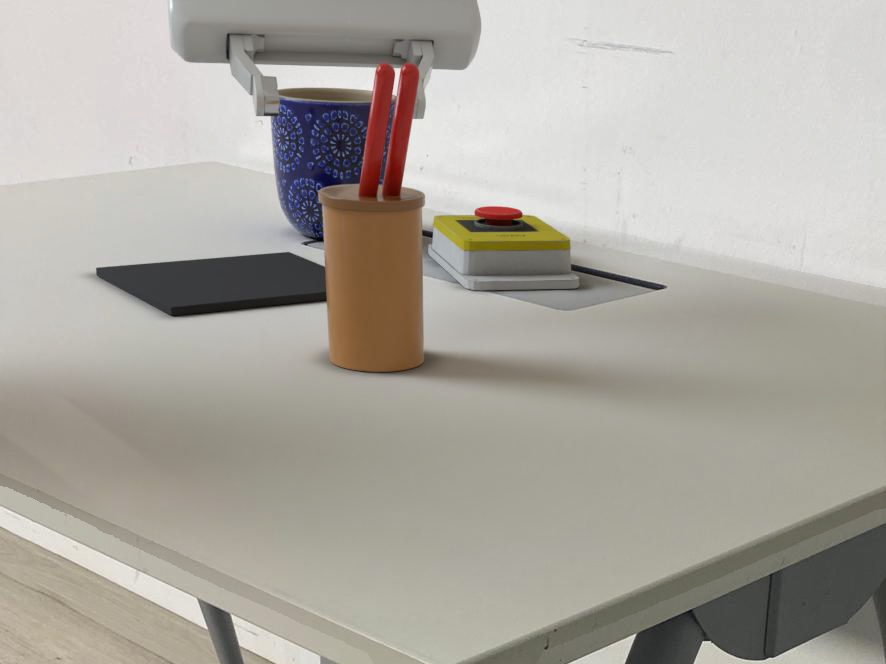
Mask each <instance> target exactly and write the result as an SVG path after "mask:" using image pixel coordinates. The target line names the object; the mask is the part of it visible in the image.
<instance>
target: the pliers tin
mask: <svg viewBox="0 0 886 664" xmlns="http://www.w3.org/2000/svg"><path fill="white" fill-rule="evenodd" d="M419 76H420V72H419V69H418V67H417V66H416V65H415V64H413V63H406V64H404V65H403V66H402V68H400V70H399V78H398V84H397V90H396V95H395V96H396V103H395V109H394V116H393V122H392V129H391V136H390V142H389V149H388V155H387V162H386V168H385V175H384V182H383V185H380V184H379V180H380V173H381V166H382V160H383V153H384V146H385V140H386V133H387V126H388V120H389V113H390V106H391V100H392V95H393V93H394V85H395V79H396V71H395V68H393V67H392V66H391V65H390V64H388V63H381V64H379V65H378V66H377V68H375V73H374V78H373V79H374V80H373V86H372V87H373V88H372V91H373V93H372V100H371V107H370V114H369V121H368V129H367V136H366V143H365V150H364V157H363V164H362V171H361V179H360V184H345V185H334V186H328V187H324V188H322V189H320V190H319V191H318V198H319V202H320V203H321V204H322V212H323V233H324V239H323V252H324V266H325V276H326V297H327V300H326V315H327V337H328V357H329V358H328V359H329V361H330V362H331V363H332V364H333V365H334V366H338V367H340V368H343V369H347V370H352V371H359V372H367V373H368V372H369V373H387V372H388V373H389V372H401V371H406V370H410V369H414V368H417V367H419V366H421V365H422V364H423V363H424V361H425V346H424V345H425V340H424V339H425V338H424V337H425V336H424V335H425V334H424V266H423V265H424V264H423V263H424V262H423V261H424V260H423V257H424V256H423V253H424V252H423V208H424V207H425V205H426V194H425V192H423V191H421V190H419V189H415V188H411V187H406V186H403V181H404V176H405V175H404V174H405V169H406V163H407V162H406V161H407V156H408V150H409V144H410V139H411V137H410V136H411V132H412V131H411V130H412V127H413V126H412V125H413V120H414V119H413V113H414V107H415V101H416V95H417V89H418V82H419Z"/></svg>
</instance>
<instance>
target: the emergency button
mask: <svg viewBox="0 0 886 664" xmlns="http://www.w3.org/2000/svg"><path fill="white" fill-rule="evenodd" d="M432 226H433V229H432V243H430V244H428V245H427V246H428V247H427V248H428V249H427V252H428V253H427V254H428V255H429V256H430V258H431V259H433V260H434V262H436V263H437V264H438V265H439V266H441V267H442V268H443V270H445V271H446V272H447V273H448V274H449V275H450V276H451V277H453V279H455V280H456V281H457V282H458V283H459V284H460V285H461V286H462V287H463V288H465V289H466V290H471V291H516V290H517V291H518V290H520V291H521V290H522V291H523V290H525V291H527V290H566V289H567V290H569V289H570V290H571V289H577V288H580V276H578V274H575V273H574V272H573V271H572V261H571V260H572V258H571V248H572V247H571V238H570V237H569V236H567V235H566V234H564V233H562V232H561V231H559V230H557V229H556V228H554V227H553V226H552V225H550V224H549V223H547V222H545V221H544V220H542V219H541V218H539V217H537V216H535V215H532V214H531V215H530V214H524V213H523V212H522V210H520V209H518V208H515V207H508V206H497V205H496V206H494V205H492V206H490V205H489V206H482V207H477V208H476V209H475V210H474V214H469V215H468V214H440V215H434V217H433V223H432Z"/></svg>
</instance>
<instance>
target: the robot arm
mask: <svg viewBox="0 0 886 664" xmlns="http://www.w3.org/2000/svg"><path fill="white" fill-rule="evenodd" d="M480 11H481V10H480V7H479V3H478V0H167V13H168V30H169V31H168V32H169V33H168V34H169V43H170V48H171V49H172V50H173V51H174V52H175V53H176V55H178V56H179V57H180V58H181V59H182V60H183V61H184V62H186V63H191V64H194V63H195V64H227V65H228V64H229V68H230V74H231V76H232V77H233V78H234V79H235V80H236V81H237V82H238V83H239V84H240V86H241V87H242V88H243V89H244V90H245V91H246V92H247V94H248V95H249V96H251V97H252V104H253V109H254V115H255V117H271V116H279V108H280V98H279V92H278V91H277V90H278V87H279V86H278V80H277V76H269V75H268V76H267V75H264V74H263V73H262V72H261V71H260V69H259V68H258V66H256V65H263V66H264V65H268V66H269V65H270V66H302V67H307V66H308V67H337V68H339V67H341V68H372V69H373V68H374V69H376V68H377V66H378V65H379V64H381V63H388V64H390V65H391V66H392V67H393V68H394V69H401V68H402V66H403V65H404V64H406V63H413V64H415V65H416V66H417V67H418V69H419V72H420V76H419V82H418V89H417V95H416V101H415V107H414V113H413V119H412V120H423V119H424V118H425V114H426V113H425V112H426V108H427V107H426V106H427V99H426V93H425V90H426V88H427V87H428V84H429V82H430V80H431V77H432V72H433V70H448V71H450V70H452V71H465V70H466V69H467V68H468V67H469V66H470V65H471V64H472V62H473V60H474V59H475V57H476V54H477V52H478V50H479V49H478V48H479V46H480V45H479V44H480V40H481V35H482V17H481V12H480Z"/></svg>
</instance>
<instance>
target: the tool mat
mask: <svg viewBox="0 0 886 664" xmlns="http://www.w3.org/2000/svg"><path fill="white" fill-rule="evenodd" d="M95 272H96V276H97V277H99V278H100V279H102V280H104V281H106V282H108V283H110V284H111V285H114V286H115V287H117V288H119V289H121V290H122V291H125V292H127V293H128V294H130V295H133V296H134V297H136V298H138V299H140V300H142V301H144V302H145V303H147V304H149V305H151V306H153V307H155V308H157V309H158V310H160V311H162V312H164V313H166V314H168V315H170V316H171V317H174V316H175V317H176V316H184V315H185V316H186V315H192V314H193V315H194V314H203V313H214V312H222V311H223V312H224V311H232V310H233V311H234V310H241V309H249V308H250V309H252V308H263V307H270V306H280V305H290V304H300V303H309V302H318V301H319V302H320V301H327V297H326V276H325V265H322V264H319V263H317V262H314V261H312V260H310V259H308V258H305V257H303V256H300V255H298V254H295V253H293V252H290V251H283V252H270V253H260V254H259V253H258V254H247V255H235V256H234V255H233V256H222V257H211V258H210V257H208V258H196V259H184V260H173V261H161V262H147V263H137V264H136V263H135V264H125V265H124V264H123V265H113V266H101V267H96V268H95Z"/></svg>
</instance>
